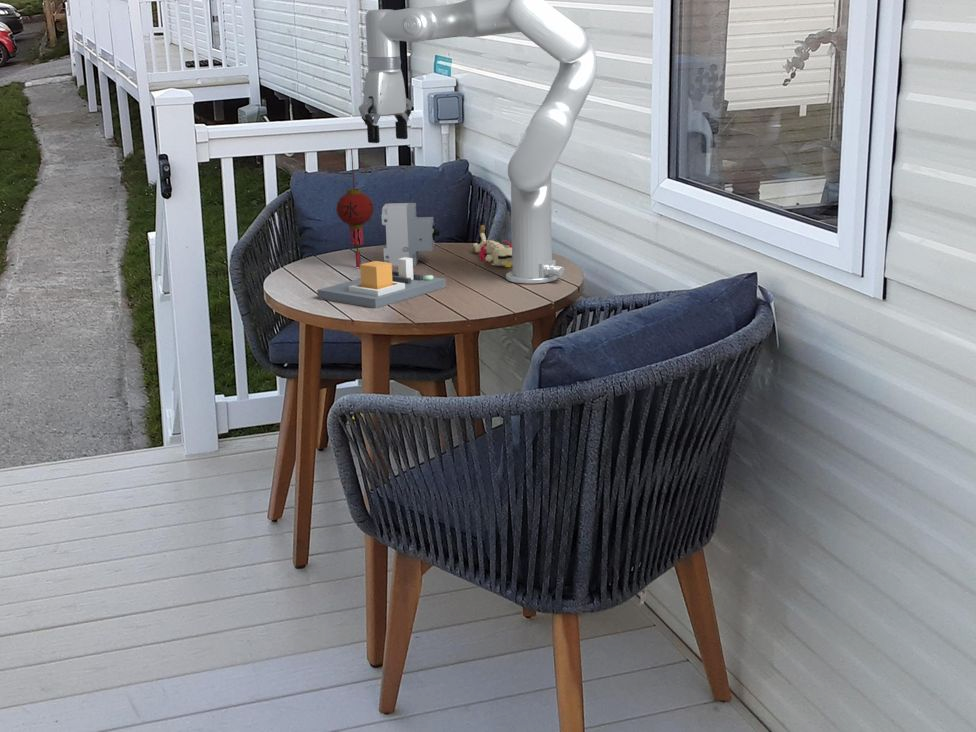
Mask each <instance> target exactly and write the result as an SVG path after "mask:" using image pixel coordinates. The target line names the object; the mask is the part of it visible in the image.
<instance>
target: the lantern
mask: <svg viewBox="0 0 976 732" xmlns="http://www.w3.org/2000/svg"><path fill="white" fill-rule="evenodd" d="M350 153H351V154H350V155H351V171H352V187H353V188H349V189H347V191H346V194H343V195H342V196H341V197H340V198H339V200H338V201H337V203H336V215H337V216H338V217H339V219H340V220H341V222H343V223H345V224H347V225H348V227H349V229H350V244H351V245H353V246H354V248H355V249H356V250H355V251H354V253H355V265H356V266H355V267H360V265H361V264H362V262H361V261H362V260H361V251H360V250H359V248H360V247H361V245H364V233H363V231H364V230H363V227H364V224H366V223H367V222H369V221H370V219H371V218H372V216H373V215H374V207H375V206H374V204H373V200H372V199H371V198H370V197H369V196H368V195H367V194H364V193H363V192H362V190H361V188H355V176H354V174H355V173H354V161H353V159H354V157H353V149H352V148H351V149H350Z"/></svg>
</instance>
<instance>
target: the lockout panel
mask: <svg viewBox="0 0 976 732" xmlns="http://www.w3.org/2000/svg"><path fill="white" fill-rule="evenodd" d="M392 282H393V285H392V286H388V287H385V288H381V289H378V290H377V289H371V288H364V287H361V277H360V278H357V279H353V280H350V281H345V282H342V283H337V284H334V285H331V286H327V287H322V288H320V289H317V290H316V291H317V299H320V300H326V301H330V302H331V301H332V302H337V303H343V304H349V305H356V306H359V307H361V306H362V307H367V308H373V309H379V308H382V307H384V306H388V305H391V304H394V303H399V302H401V301H405V300H408V299H411V298H415V297H417V296H421V295H425V294H428V293H432V292H435V291H438V290H442V289H444V288H446V287H447V282H446V278H442V277H435V276H434V275H432V274H427V275H424V274H420V273H414V272H413V280H411V278H407V277H400V276H399V270H393V269H392Z"/></svg>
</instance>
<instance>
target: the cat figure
mask: <svg viewBox="0 0 976 732" xmlns="http://www.w3.org/2000/svg"><path fill="white" fill-rule="evenodd" d="M479 226H480V227H479V236H480V238H481V242H480V243H479V244H478V243H477V242H476V243H474V242H473V245H472V246H473V247H471V252H472V253H474V254H478V258H479V259H480V261H483V262H484V263H485V264H488V263H490V262H492V261H493V263H490V264H491V265H492V266H498V267H499V266H500V267H502V266H503V267H505V268H510V267H511V268H512V243H510V241H508V240H506V239H503V242H506V245H509V247H505V245H504V244H502V243H500V242H498V241H495V240H492V239H491V240H490V239H489V240H488V239H487V237H486V234H485V232H486V225H485V224H481V225H479ZM485 254H487V255H486V256H485Z"/></svg>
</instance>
